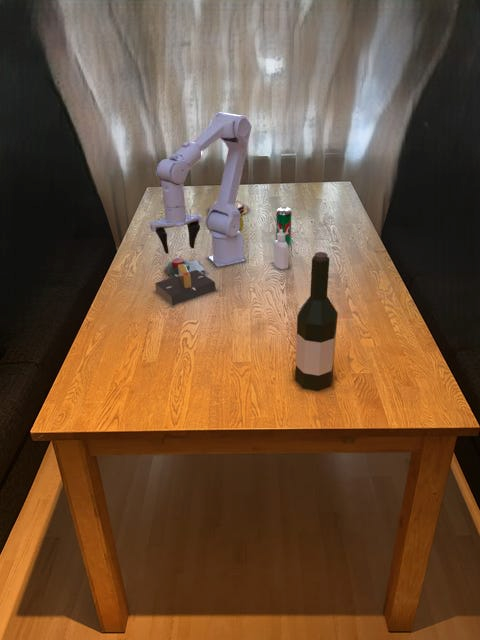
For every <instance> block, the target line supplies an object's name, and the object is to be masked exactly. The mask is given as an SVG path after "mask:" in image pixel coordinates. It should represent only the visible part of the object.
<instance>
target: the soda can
mask: <svg viewBox="0 0 480 640" xmlns="http://www.w3.org/2000/svg"><path fill="white" fill-rule="evenodd" d="M292 213H293V212H292V211H291V207H286V206H281V207H278V208H277V210H276V212H275V241H276V240H277V234H278V233H280V230H281V229H282V230H283V233H285V241H286V242H287V244H288V246H289V245H290V244H291V243H292V219H293V216H292V215H293V214H292Z"/></svg>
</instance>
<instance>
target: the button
mask: <svg viewBox="0 0 480 640" xmlns="http://www.w3.org/2000/svg"><path fill="white" fill-rule="evenodd" d="M171 261H172V266H173V267H175V268H178V265H180V264H184V261H185V260H184V258H181V257H175V258H173V259H171Z"/></svg>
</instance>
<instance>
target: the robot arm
mask: <svg viewBox="0 0 480 640" xmlns="http://www.w3.org/2000/svg"><path fill="white" fill-rule="evenodd" d="M252 126H253V125H252V124H251V122H250V119H249V117H248V116H246V115H244V114H241V115H239V114H232V113H227V112H226V113H225V112H223V111H220V112H217V113H216V114H215V115H214V116H213V117H211V118H210V124H209V125H208V126H207V127H206V128H205V129H204V130H203V131H202V132H201V133H200V135H198V137H197V138H196V139H194V140H193V141H185V142H183V143H182V144H181V147H180V148H179V149H177V150H176V151H175V152H174V153H172V154H171V155H170V157H169V158H164V159H162V160H161V161H160V162H158V164H157V167H156V171H155V176H156V178H157V179H158V180H159V182H160V186H161V188H162V189H161V190H162V196H163V206H164V216H165V218H162V219H159V220H156V221H152V222H149V226H150V230H151V232H155V233H156V235H157V237H158V239H159V240H160V242H161V245H162V247H163V252H164V253H165V255H167V254H169V246H168V233H167V231H166V230H165V229H171V228H175V227H176V228H180V227H184V226H187V231H188V244H189V248H191V249H192V250H193V249H195V244H196V240H197V236H198V233H199V232H200V229H201V225H200V224H203V216H202V215H201V214H200V213H198V214H187V209H186V199H185V198H186V197H185V187H184V186H185V185H184V182H185V181H186V179H187V177H188V174H189V172H190V170H191V169H192V168H193V167H194V166H195V165H196V164H197V163H198V162H199V161H200V160H202V157H203V152H205V150H206V149H208V148H209V147H211V146H212V145H213V144H215V142H217V141H218V140H219V139H220V140H221V141H222V142H223V143H224V144H225V145H226V147H227V149H228V150H227V155H226V158H225V159H226V160H225V164H224V169H223V173H222V179H221V183H220V189H219V192H218V197H217V201H215V202H216V203H215V202H214V203H215V204H213V203H212V204H211V205H210V207H209V210H210V211H209V210H208V213H207V215H206V217H205V227H206V229H207V230H209V234H210V235H211V246H212V247H211V249H212V255H210V256H208V259H209V260H210V262H212V263H213V264H214V265H215V266H216V268H221V267H225V266H228V265H229V266H230V265H233V264H238V263H239V264H240V263H243V262H245V261H246V259H245V255H244V254H245V253H244V252H245V251H244V248H245V247H244V238H243V235H242V233H241V231H240V232H239V228H240V212H239V211H238V209H237V208H236V206H235V203H236V201H237V197H238V193H239V192H238V191H239V190H240V189H239V188H240V185H241V180H242V175H243V170H244V167H245V166H244V165H245V162H246V161H245V160H246V156H247V152H248V147H249V142H250V141H249V140H250V137H251V132H252V128H253V127H252ZM221 212H224V213H227V214H228V215H227V214H224V213H221Z"/></svg>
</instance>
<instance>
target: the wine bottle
mask: <svg viewBox="0 0 480 640" xmlns="http://www.w3.org/2000/svg"><path fill="white" fill-rule="evenodd" d="M330 259H331V258H330V257H329V256H328V253H326V252H324V251H318V252H315V253H314V256H313V257H312V258H311V270H310V271H311V273H310V294H309V296H308V298H307V299H306V301H305V302H304V303H303V305H301V307H300V309H299V311H298V313H297V316H296V343H295V344H296V345H295V374H294V375H295V377H294V381H295V382H296V383H297V384H298V385H299V386H300V387H301V388H302V389H304V390H309V391H310V390H311V391H316V392H320V391H322V390H324V389H327V388H330V387H331V384H332V381H333V377H334V363H335V351H336V340H337V327H338V314H339V312H338V311H337V310H336V308H335V306H334V305H333V304H332V301H331V300H330V298H329V296H328V287H329V272H330Z"/></svg>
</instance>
